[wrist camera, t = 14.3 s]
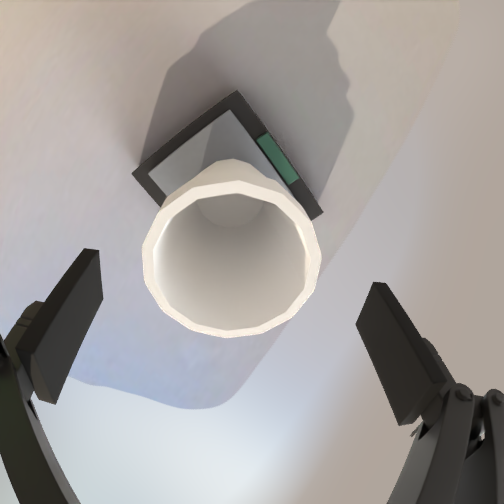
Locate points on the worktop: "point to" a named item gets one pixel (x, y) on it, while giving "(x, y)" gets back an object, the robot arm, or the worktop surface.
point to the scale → (222, 153)
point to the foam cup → (231, 252)
